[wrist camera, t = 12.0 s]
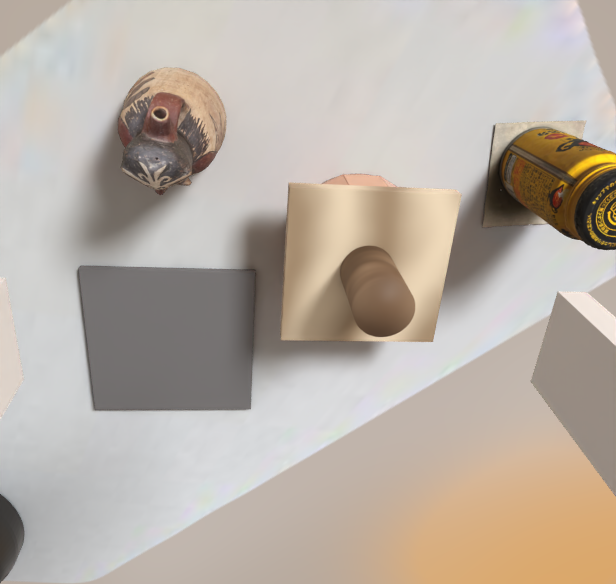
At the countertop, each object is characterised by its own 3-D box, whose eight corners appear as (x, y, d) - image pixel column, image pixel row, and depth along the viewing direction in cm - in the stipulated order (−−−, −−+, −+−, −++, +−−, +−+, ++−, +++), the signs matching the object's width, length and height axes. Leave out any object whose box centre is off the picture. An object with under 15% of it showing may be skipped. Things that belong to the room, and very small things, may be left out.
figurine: (116, 147, 42) (73, 197, 32) (139, 49, 40) (100, 68, 29) (210, 179, 44) (199, 236, 34) (239, 87, 41) (237, 118, 31)
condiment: (584, 119, 45) (690, 157, 34) (564, 222, 49) (653, 284, 38) (494, 122, 44) (573, 161, 34) (480, 226, 48) (547, 290, 38)
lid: (280, 332, 45) (285, 387, 39) (288, 182, 40) (296, 217, 33) (428, 333, 46) (457, 387, 40) (456, 189, 41) (494, 224, 35)
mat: (96, 405, 53) (95, 409, 52) (80, 265, 46) (78, 268, 46) (250, 405, 54) (250, 409, 54) (255, 270, 48) (255, 273, 47)
